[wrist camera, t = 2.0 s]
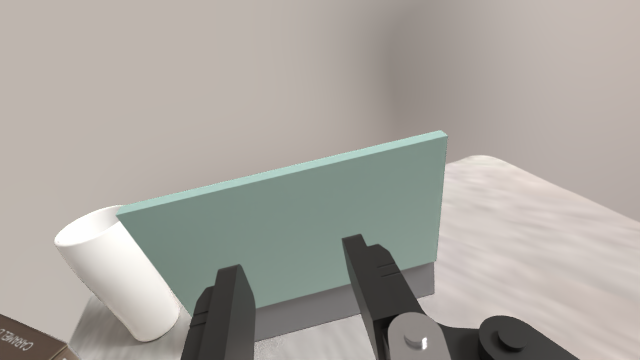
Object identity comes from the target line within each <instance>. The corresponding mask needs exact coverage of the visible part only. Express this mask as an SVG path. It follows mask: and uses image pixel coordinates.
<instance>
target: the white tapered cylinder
mask: <svg viewBox="0 0 640 360" xmlns="http://www.w3.org/2000/svg"><path fill="white" fill-rule="evenodd" d="M121 206H124V205H117V206H111V207H107V208H103V209H100V210H97V211H94V212H92V213H90V214H87V215H85V216H83V217H82V218H80V219H77V220H76V221H74V222H72V223H71V224H69V225H68V226H66V227H65V228H64V229H62V230H61V231H60V232H59V233H58V234H57V236H56V237H55V239H54V244H55V246H56V247H57V249H58V250H59V252H60V253H61V255H62V256H63V258H64V259H65V261H66V262H67V263H68V265H69V266H70V267H71V269H72V270H73V271H74V273H75V274H76V275H77V276H78V277H79V278H80V279H81V281H82V282H83V283H85V285H86V286H87V287H88V288H89V289H90V290H91V291H92V292H93V293H94V294H95V295H96V296H97V297H98V298H99V299H100V300H101V301H102V302H103V303H104V304H105V305H106V307H107V308H108V309H109V310H110V311H111V312H112V313H113V314H114V315H115V316H116V317H117V318H118V319H119V320H120V321H121V322H122V323H123V324H124V325H125V327H126V328H127V329H128V330H129V331H130V333H131V334H132V335H133V337H134V338H135V339H137V340H139V341H143V342H146V341H152V340H154V339H157V338H159V337H161V336H162V335H164V334H165V333H166V332H168V331H169V330H170V329H171V328H172V327H173V326H174V324H175V323H176V321H177V319H178V317H179V314H180V308H179V305H178V303H177V302H176V300H175V298H174V296H173V294H172V292H171V290H170V288H169V286H168V285H167V283H166V282H165V281H164V279H163V278H162V277H161V275H160V274H159V273H158V271H157V270H156V269H155V267H154V266H153V265H152V263H151V262H150V261H149V259H148V258H147V257H146V255H145V254H144V253H143V251H142V250H141V249H140V247H139V246H138V245H137V243H136V242H135V241H134V239H133V238H132V237H131V235H130V234H129V233H128V231H127V230H126V229H125V228H124V226H123V225H122V224H121V222H120V221H119V220H118V218H117V217H116V216H115V215H116V213H117V212H118V210H119V208H120V207H121Z"/></svg>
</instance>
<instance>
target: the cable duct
mask: <svg viewBox="0 0 640 360" xmlns="http://www.w3.org/2000/svg"><path fill="white" fill-rule="evenodd" d="M400 271H401V274H402V275H403V276H404V278H405V280H406V282H407V283H408V285H409V287H410V289H411V291H412V292H413V294H414V296H415V298H420V297H423V296H427V295H431V294H434V262H430V263H426V264H423V265H419V266H415V267H411V268H407V269H404V270H400ZM360 313H361V312H360V309H359V306H358V303H357V300H356V297H355V294H354V291H353V288H352V285H351V284H347V285H343V286H339V287H335V288H332V289H328V290H324V291H320V292H316V293H313V294H309V295H305V296H301V297H297V298H294V299H290V300H286V301H282V302H278V303H275V304H271V305H267V306H263V307H259V308H256V319H255V339H254V342H257V341H260V340H264V339H268V338H271V337H275V336H279V335H283V334H286V333H290V332H294V331H297V330H301V329H305V328H309V327H312V326H316V325H320V324H323V323H327V322H331V321H334V320H338V319H342V318H346V317H349V316H353V315H357V314H360Z"/></svg>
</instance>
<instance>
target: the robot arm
mask: <svg viewBox="0 0 640 360" xmlns="http://www.w3.org/2000/svg"><path fill="white" fill-rule="evenodd" d="M342 245H343V250H344V255H345V260H346V265H347V270H348V275H349V278H350V282H351V285H352V288H353V291H354V294H355V297H356V300H357V303H358V306H359V309H360V312H361V315H362V318H363V321H364V324H365V327H366V330H367V333H368V336H369V339H370V342H371V345H372V348H373V351H374V354H375V357H376V360H579V359H578V358H577V357H575V356H574V355H572V354H571V353H569V352H568V351H566V350H565V349H563V348H562V347H561V346H559V345H558V344H556V343H555V342H553V341H552V340H550V339H549V338H547V337H546V336H544V335H543V334H542V333H540V332H539V331H537V330H536V329H534V328H533V327H531V326H530V325H528V324H527V323H525V322H523V321H521V320H519V319H516V318H513V317H509V316H492V317H490V318H487V319H486V320H484V321H483V322H482V324H481V325H480V328H479V329H470V328H453V327H448V326H444V325H442V324H439V323H437V322H435V321H434V320H433V319H431V318H430V317H428V316H427V315H426V314H425V312H424V311H423V310H422V308H421V306H420V305H419V303H418V301H417V299H416V298H415V296H414V294H413V292H412V291H411V289H410V287H409V285H408V283H407V282H406V280H405V278H404V276H403V275H402V274H401V271H400V269H399V268H398V266H397V264H396V263H395V261H394V259H393V257H392V255H391V253H390V252H389V251H388V250H387V249H385V248H384V247H383V246H381V245H380V244H375V245H371V246H367V245H366V243H365V241H364V239H363V236H362V235H361V234H356V235H352V236H348V237H344V238H342ZM255 319H256V305H255V299H254V295H253V292H252V290H251V287H250V285H249V282H248V280H247V277H246V275H245V273H244V270H243V268H242V266H241V265H240V264H237V265H233V266H229V267H225V268H221V269H219V270H218V272H217V276H216V280H215V285H214V286H210V287H206V288H205V290H204V291H203V293H202V294H201V295H200V297H199V298H198V300H197V302H196V305H195V309H194V313H193V317H192V320H191V323H190V329H189V331H188V334H187V338H186V342H185V345H184V349H183V352H182V356H181V360H254V339H255Z"/></svg>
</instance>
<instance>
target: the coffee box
mask: <svg viewBox="0 0 640 360" xmlns="http://www.w3.org/2000/svg"><path fill="white" fill-rule="evenodd" d="M0 360H82V359H81V358H80V357H79V356H78V354H77V353H76V352H75V351H74V350H73V349H72V347H71V346H70V345H69V344H68V343H66V342H64V341H62V340H60V339H57V338H55V337H53V336H50V335H48V334H46V333H43V332H41V331H38V330H36V329H34V328H32V327H29V326H27V325H25V324H23V323H20V322H18V321H16V320H13V319H11V318H9V317H6V316H4V315H1V314H0Z"/></svg>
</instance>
